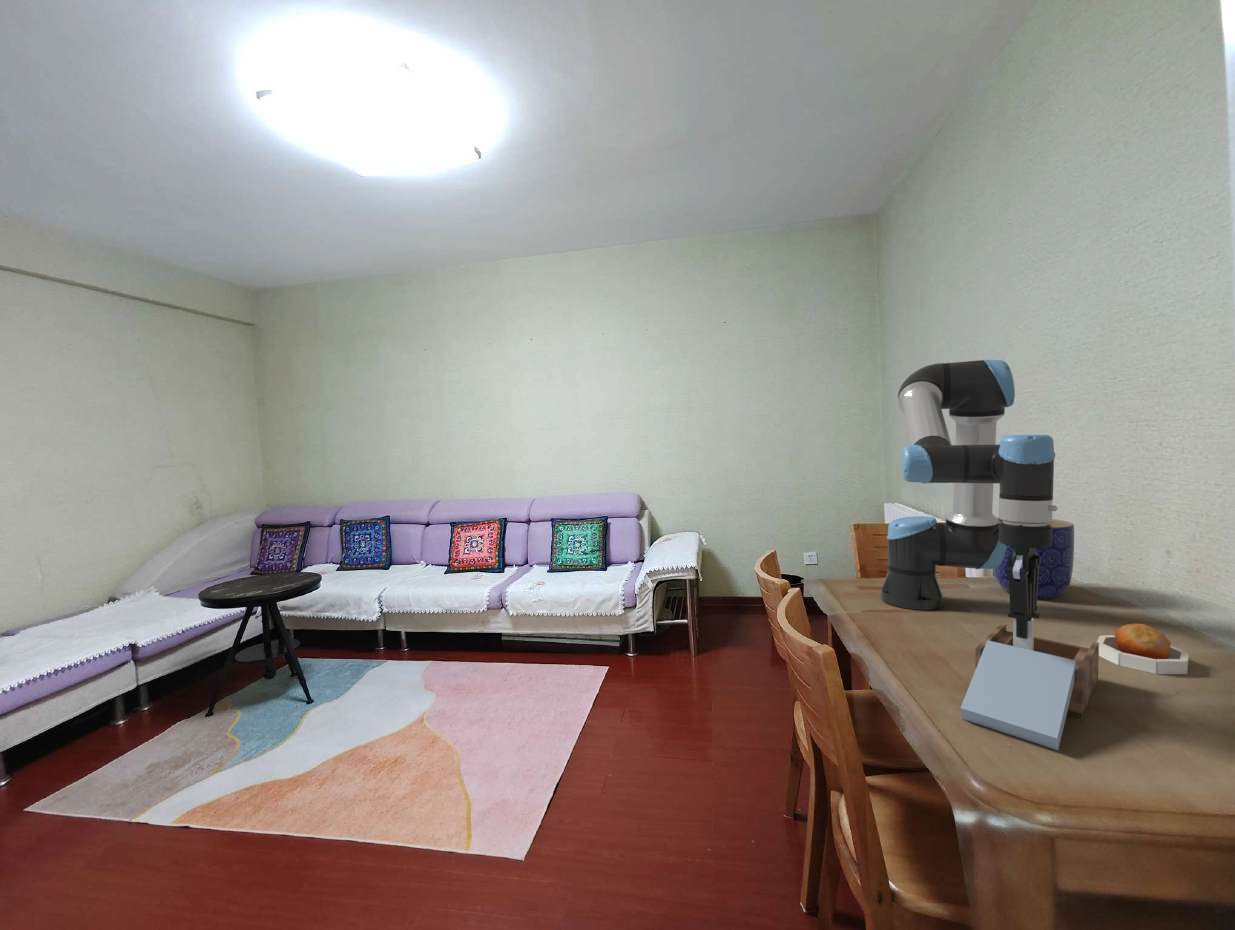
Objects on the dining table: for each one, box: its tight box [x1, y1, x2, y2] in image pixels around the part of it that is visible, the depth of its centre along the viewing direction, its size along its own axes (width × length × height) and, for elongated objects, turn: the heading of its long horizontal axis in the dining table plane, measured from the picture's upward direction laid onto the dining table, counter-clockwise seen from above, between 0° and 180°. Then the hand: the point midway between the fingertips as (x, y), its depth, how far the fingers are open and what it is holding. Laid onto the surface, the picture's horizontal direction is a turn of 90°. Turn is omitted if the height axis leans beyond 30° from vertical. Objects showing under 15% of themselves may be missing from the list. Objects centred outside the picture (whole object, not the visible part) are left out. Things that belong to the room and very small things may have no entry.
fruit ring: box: [1096, 634, 1190, 675], centre depth 108 cm, size 13×13×2 cm
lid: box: [960, 640, 1077, 751], centre depth 88 cm, size 17×12×2 cm
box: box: [974, 622, 1100, 719], centre depth 99 cm, size 18×15×8 cm
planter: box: [992, 516, 1075, 600], centre depth 151 cm, size 18×18×21 cm
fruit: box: [1114, 623, 1172, 659], centre depth 108 cm, size 8×8×8 cm
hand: (1023, 653), depth 95 cm, fingers closed
